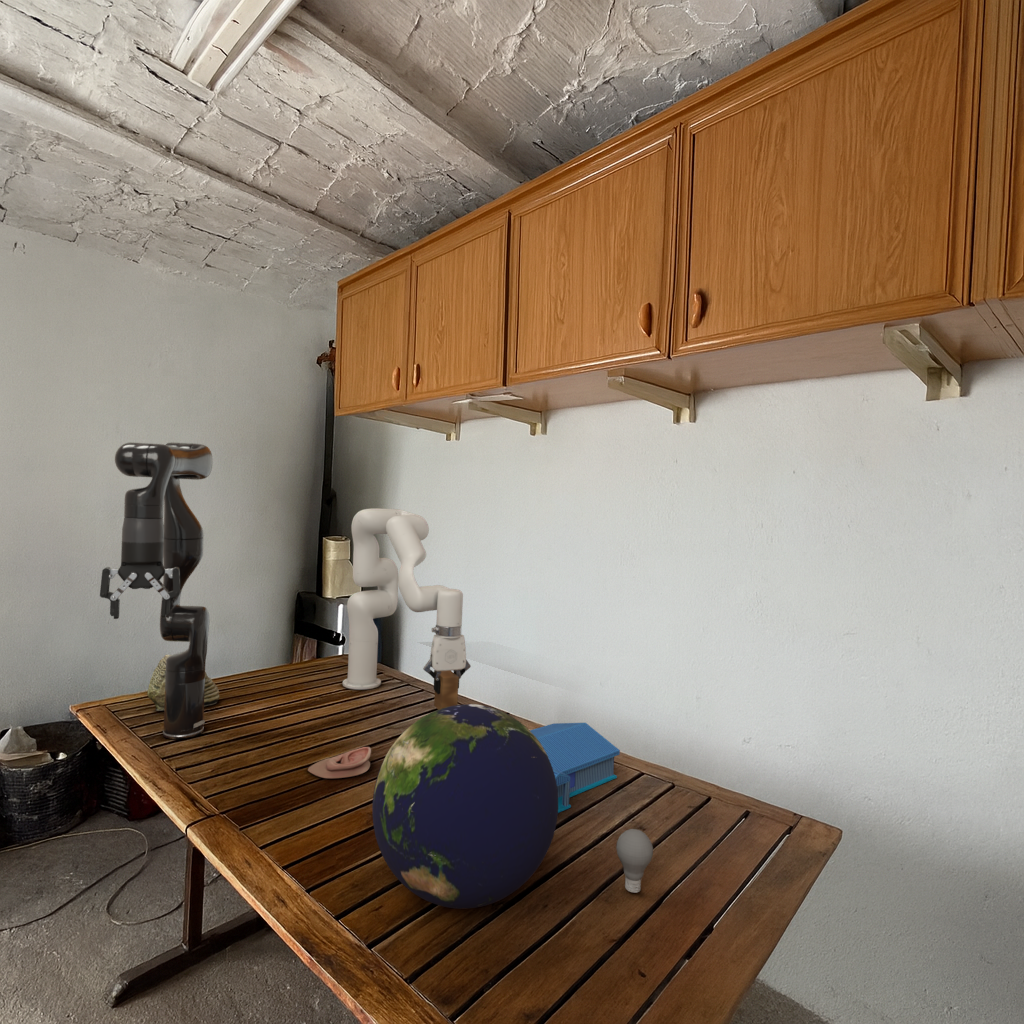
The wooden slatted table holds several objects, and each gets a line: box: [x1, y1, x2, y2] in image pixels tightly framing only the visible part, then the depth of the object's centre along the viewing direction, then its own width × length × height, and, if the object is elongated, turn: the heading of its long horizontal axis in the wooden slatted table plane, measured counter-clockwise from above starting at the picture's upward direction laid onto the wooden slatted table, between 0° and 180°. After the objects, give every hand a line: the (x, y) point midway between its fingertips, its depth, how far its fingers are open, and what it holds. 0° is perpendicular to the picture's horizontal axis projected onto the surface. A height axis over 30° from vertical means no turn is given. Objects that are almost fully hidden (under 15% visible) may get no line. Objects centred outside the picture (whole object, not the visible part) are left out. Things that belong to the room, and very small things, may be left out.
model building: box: [529, 722, 621, 814], centre depth 143 cm, size 39×24×10 cm, turn 132°
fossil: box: [147, 654, 221, 712], centre depth 185 cm, size 9×18×15 cm, turn 132°
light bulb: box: [615, 828, 654, 894], centre depth 106 cm, size 6×6×10 cm
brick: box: [433, 670, 460, 710], centre depth 188 cm, size 5×7×10 cm, turn 25°
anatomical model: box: [307, 746, 372, 779], centre depth 147 cm, size 13×4×12 cm
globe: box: [371, 703, 559, 910], centre depth 103 cm, size 30×30×30 cm
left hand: (140, 617), depth 131 cm, fingers open, 8 cm apart
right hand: (446, 691), depth 188 cm, fingers closed on brick, 4 cm apart
